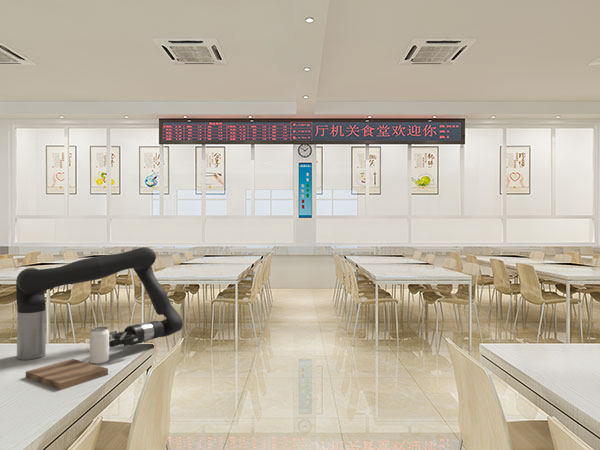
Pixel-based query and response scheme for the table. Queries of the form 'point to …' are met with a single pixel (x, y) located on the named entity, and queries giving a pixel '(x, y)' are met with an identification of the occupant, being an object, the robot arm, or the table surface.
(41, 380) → the serving board
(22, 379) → the table surface
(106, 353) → the can
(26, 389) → the table surface
